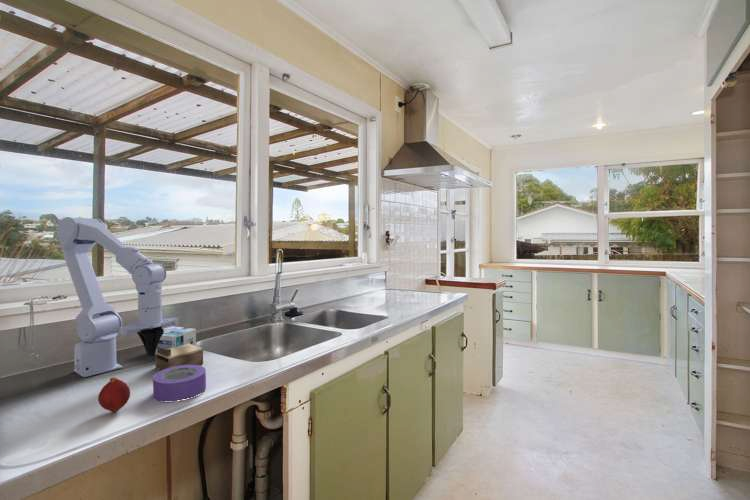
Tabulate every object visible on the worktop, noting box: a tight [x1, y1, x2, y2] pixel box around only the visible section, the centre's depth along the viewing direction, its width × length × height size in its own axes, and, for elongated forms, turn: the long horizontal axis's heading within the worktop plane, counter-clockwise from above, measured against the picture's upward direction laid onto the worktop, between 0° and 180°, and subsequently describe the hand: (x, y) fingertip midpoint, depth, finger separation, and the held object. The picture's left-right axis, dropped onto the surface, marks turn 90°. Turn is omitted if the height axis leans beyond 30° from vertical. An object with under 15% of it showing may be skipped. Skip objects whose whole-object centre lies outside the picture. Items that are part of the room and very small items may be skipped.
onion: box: [97, 376, 131, 413], centre depth 84 cm, size 6×6×8 cm
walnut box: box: [155, 350, 204, 371], centre depth 113 cm, size 10×8×4 cm
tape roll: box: [152, 365, 207, 403], centre depth 95 cm, size 12×12×5 cm
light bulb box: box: [154, 325, 197, 356], centre depth 126 cm, size 11×7×11 cm
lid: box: [156, 344, 204, 359], centre depth 113 cm, size 10×8×2 cm
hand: (150, 355), depth 106 cm, fingers closed
